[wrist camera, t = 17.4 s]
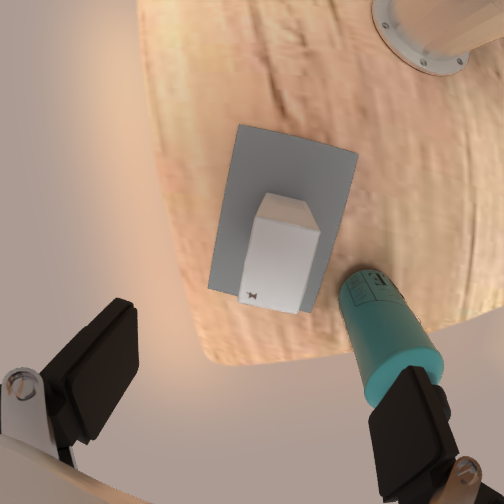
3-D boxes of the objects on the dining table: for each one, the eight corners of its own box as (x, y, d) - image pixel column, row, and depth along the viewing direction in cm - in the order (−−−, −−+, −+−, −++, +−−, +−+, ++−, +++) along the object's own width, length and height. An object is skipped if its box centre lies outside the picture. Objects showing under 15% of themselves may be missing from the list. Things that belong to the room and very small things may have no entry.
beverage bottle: (331, 312, 32) (360, 465, 13) (338, 259, 30) (394, 403, 11) (382, 312, 31) (443, 449, 13) (393, 261, 29) (487, 385, 11)
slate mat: (239, 125, 27) (239, 124, 26) (357, 153, 26) (358, 154, 26) (209, 286, 33) (207, 288, 32) (310, 310, 32) (310, 313, 32)
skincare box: (294, 256, 30) (297, 318, 19) (254, 247, 30) (234, 304, 19) (308, 199, 28) (323, 231, 16) (265, 190, 28) (251, 215, 17)
